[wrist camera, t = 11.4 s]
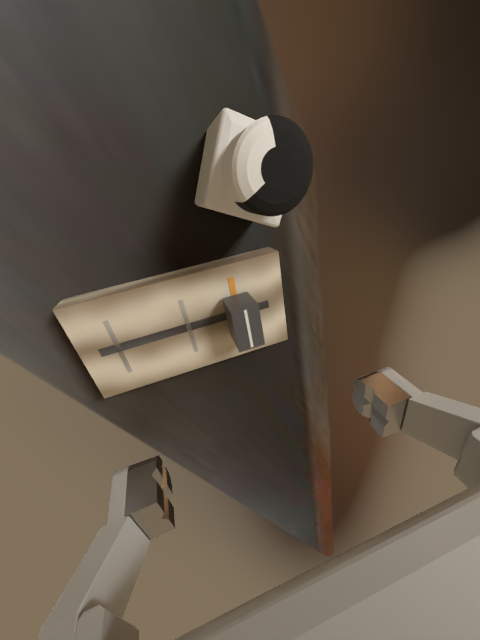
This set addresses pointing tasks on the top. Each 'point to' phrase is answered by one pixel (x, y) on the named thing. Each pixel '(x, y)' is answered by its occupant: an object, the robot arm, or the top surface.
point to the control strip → (170, 320)
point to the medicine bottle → (254, 167)
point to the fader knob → (244, 321)
